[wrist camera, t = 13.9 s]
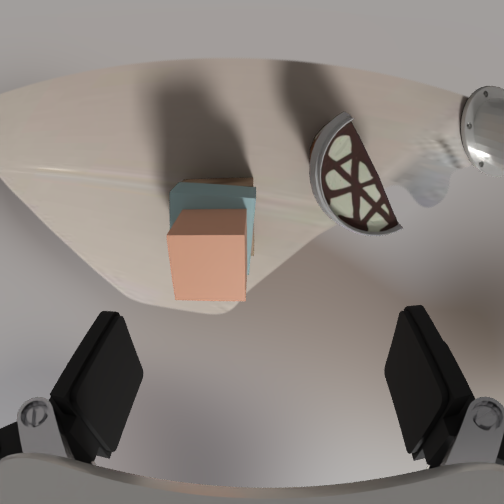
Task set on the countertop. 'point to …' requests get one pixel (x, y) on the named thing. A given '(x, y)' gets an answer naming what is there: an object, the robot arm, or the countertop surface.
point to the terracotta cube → (209, 254)
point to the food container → (349, 181)
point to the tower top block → (214, 202)
